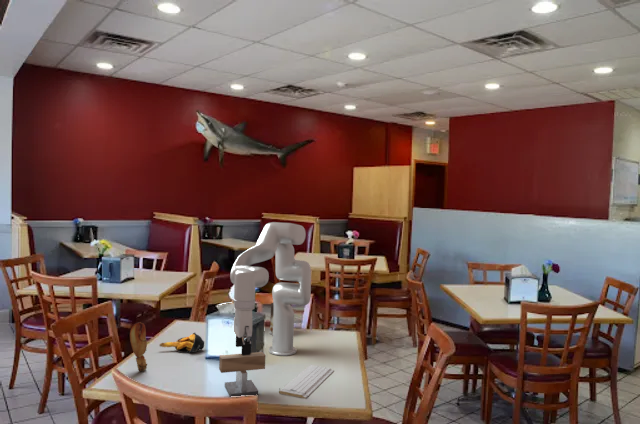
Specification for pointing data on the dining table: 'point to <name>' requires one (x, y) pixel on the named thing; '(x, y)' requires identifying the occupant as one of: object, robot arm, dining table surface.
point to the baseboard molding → (306, 381)
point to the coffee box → (272, 319)
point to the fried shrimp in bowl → (186, 344)
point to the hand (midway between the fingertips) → (243, 350)
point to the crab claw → (139, 344)
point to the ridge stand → (241, 385)
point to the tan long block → (241, 362)
